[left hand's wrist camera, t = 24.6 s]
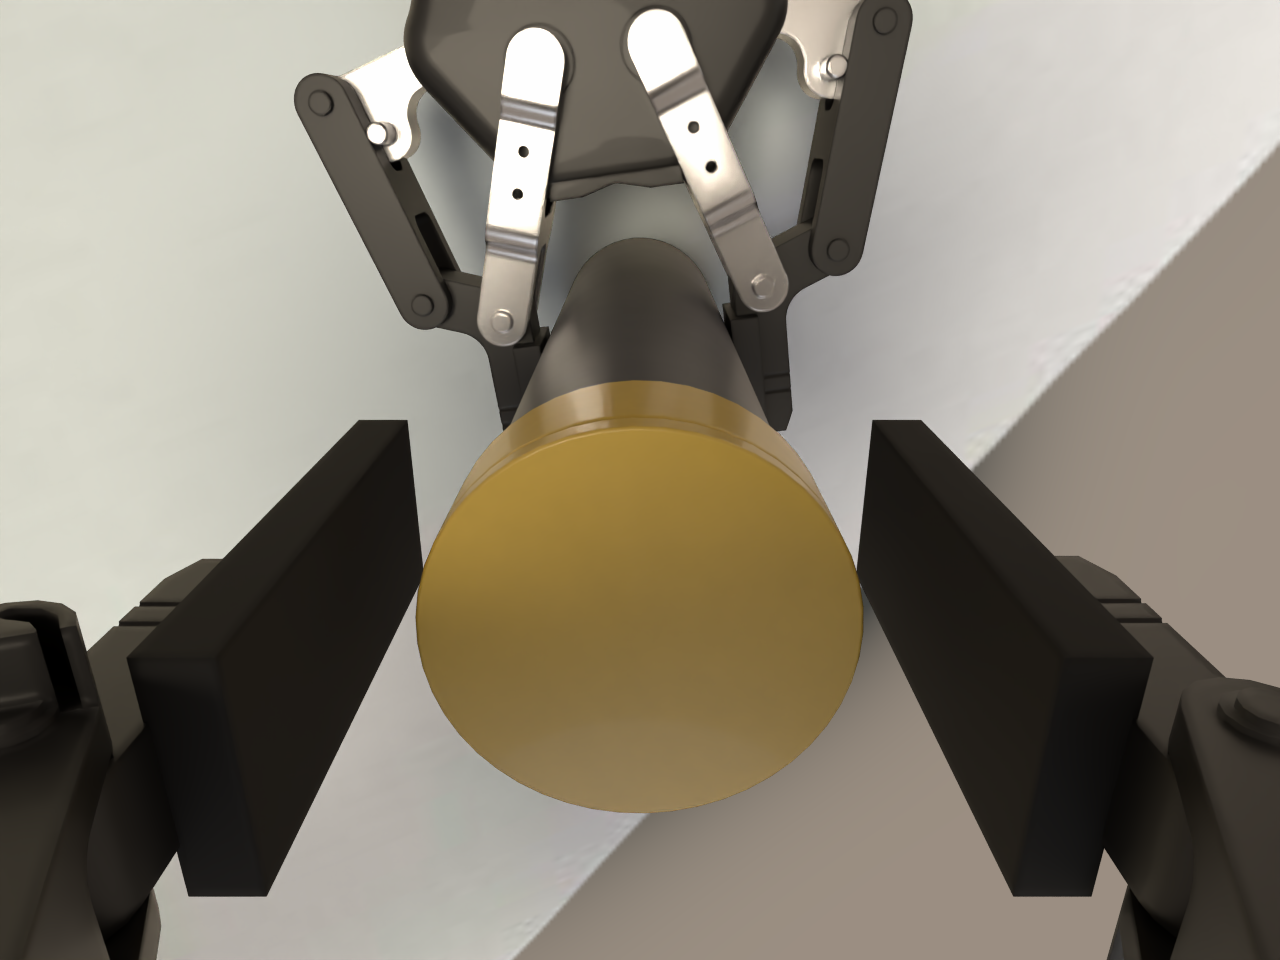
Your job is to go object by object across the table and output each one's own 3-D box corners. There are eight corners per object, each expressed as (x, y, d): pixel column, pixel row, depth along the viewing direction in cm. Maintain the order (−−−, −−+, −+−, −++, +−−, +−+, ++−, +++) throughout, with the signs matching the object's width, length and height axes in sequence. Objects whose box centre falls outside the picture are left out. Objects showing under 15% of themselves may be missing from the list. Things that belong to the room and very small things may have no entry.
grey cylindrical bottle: (591, 217, 27) (505, 370, 10) (731, 264, 28) (886, 487, 10) (551, 356, 29) (417, 699, 11) (684, 397, 29) (749, 784, 12)
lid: (630, 291, 10) (629, 325, 9) (909, 556, 12) (957, 631, 10) (371, 570, 12) (324, 646, 10) (646, 778, 13) (647, 878, 11)
